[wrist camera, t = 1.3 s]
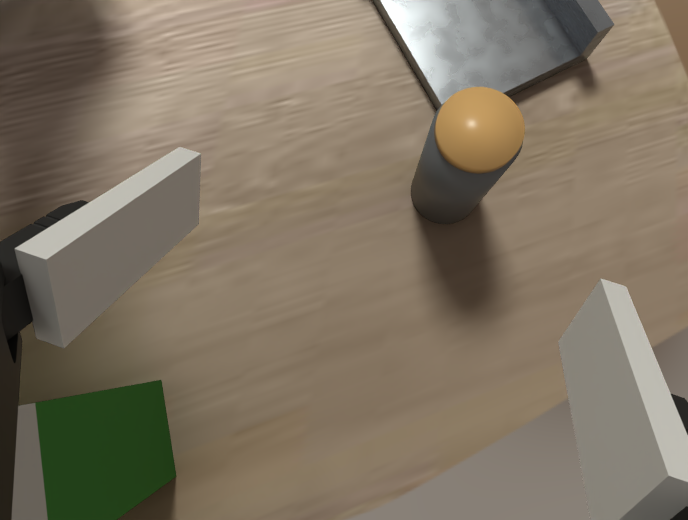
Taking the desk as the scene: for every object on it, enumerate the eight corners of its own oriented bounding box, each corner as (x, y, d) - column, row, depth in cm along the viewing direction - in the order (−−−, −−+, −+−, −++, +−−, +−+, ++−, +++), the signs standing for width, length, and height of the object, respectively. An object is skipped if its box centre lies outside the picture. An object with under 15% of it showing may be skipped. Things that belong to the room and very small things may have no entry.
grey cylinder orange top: (399, 178, 40) (416, 108, 28) (457, 149, 40) (497, 68, 29) (430, 235, 39) (462, 187, 27) (489, 205, 39) (546, 145, 28)
